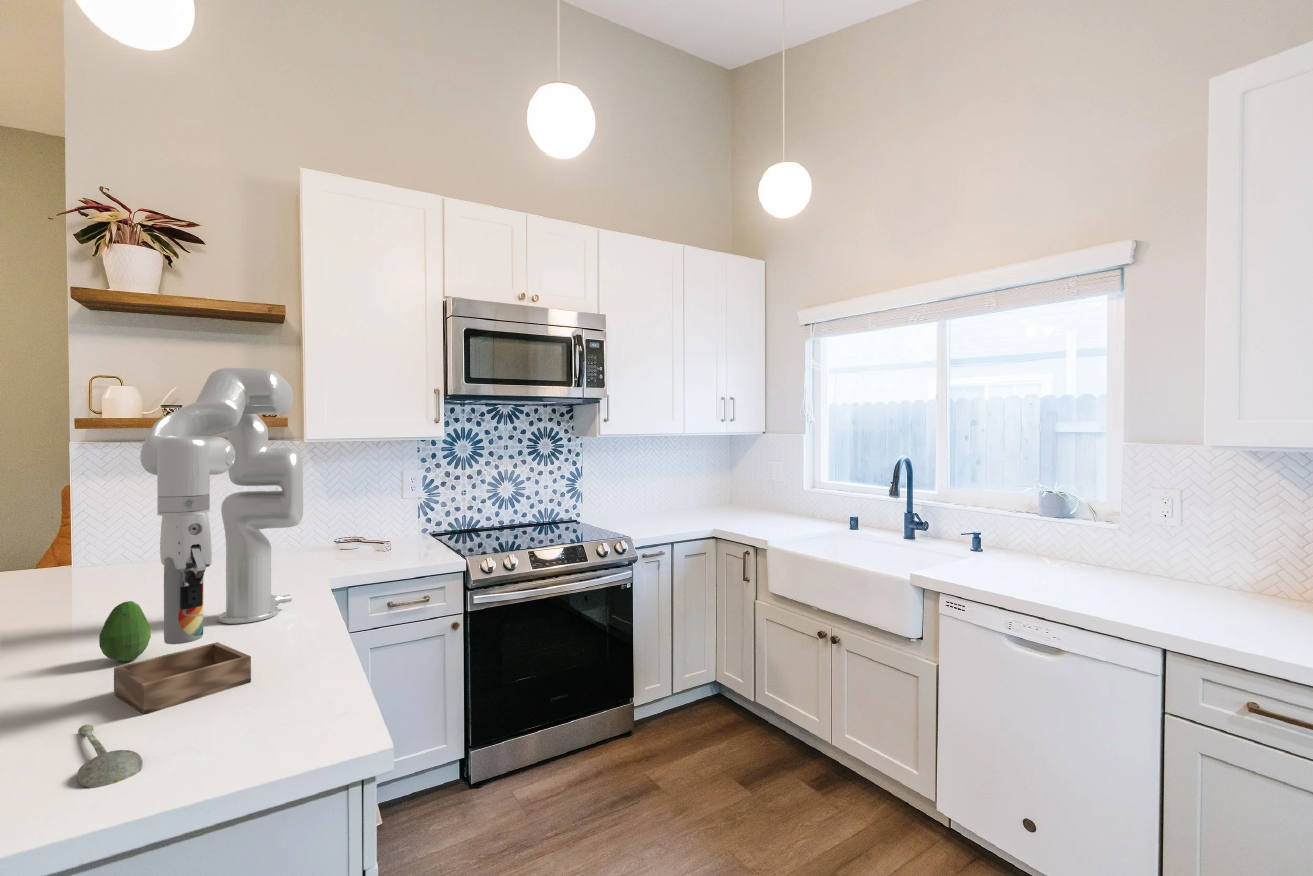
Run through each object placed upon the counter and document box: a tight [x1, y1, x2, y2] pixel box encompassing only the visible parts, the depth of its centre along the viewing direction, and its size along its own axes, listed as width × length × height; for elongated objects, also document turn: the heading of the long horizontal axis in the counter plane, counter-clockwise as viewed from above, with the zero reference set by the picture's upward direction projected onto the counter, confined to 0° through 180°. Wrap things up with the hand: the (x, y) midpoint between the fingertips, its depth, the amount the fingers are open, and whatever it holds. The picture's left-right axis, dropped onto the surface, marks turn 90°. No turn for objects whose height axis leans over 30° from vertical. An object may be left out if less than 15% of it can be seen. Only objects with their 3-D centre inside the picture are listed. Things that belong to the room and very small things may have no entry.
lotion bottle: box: [163, 529, 204, 645], centre depth 111 cm, size 6×6×20 cm
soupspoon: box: [76, 723, 143, 789], centre depth 88 cm, size 22×3×7 cm
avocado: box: [98, 600, 152, 662], centre depth 125 cm, size 8×8×12 cm
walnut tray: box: [113, 641, 252, 715], centre depth 112 cm, size 16×14×5 cm
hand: (183, 604), depth 111 cm, fingers closed on lotion bottle, 5 cm apart
